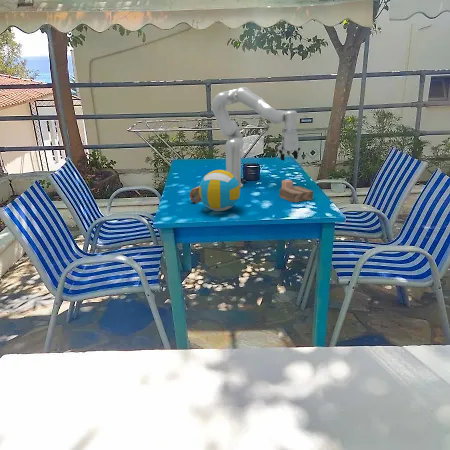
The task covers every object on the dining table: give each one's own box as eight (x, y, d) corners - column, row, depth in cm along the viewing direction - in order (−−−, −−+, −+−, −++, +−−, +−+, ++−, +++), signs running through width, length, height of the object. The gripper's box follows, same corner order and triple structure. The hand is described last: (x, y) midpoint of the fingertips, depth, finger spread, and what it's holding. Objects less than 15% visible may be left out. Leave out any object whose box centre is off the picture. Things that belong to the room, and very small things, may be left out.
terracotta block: (286, 191, 259) (286, 182, 257) (281, 189, 264) (281, 180, 262) (292, 190, 261) (293, 181, 259) (288, 188, 266) (288, 179, 264)
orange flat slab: (193, 204, 235) (193, 190, 232) (189, 203, 236) (188, 189, 233) (208, 198, 247) (208, 184, 244) (204, 197, 248) (203, 183, 245)
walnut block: (292, 202, 236) (293, 194, 234) (279, 196, 248) (279, 188, 246) (312, 199, 242) (313, 191, 240) (298, 193, 254) (299, 185, 252)
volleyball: (234, 218, 211) (234, 176, 204) (193, 214, 217) (192, 173, 210) (244, 205, 231) (244, 167, 224) (206, 202, 237) (205, 165, 229)
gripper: (281, 133, 245) (280, 161, 251) (305, 131, 252) (304, 159, 258) (274, 131, 252) (274, 159, 257) (298, 130, 259) (297, 157, 264)
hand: (289, 159), depth 258 cm, fingers open, 9 cm apart
